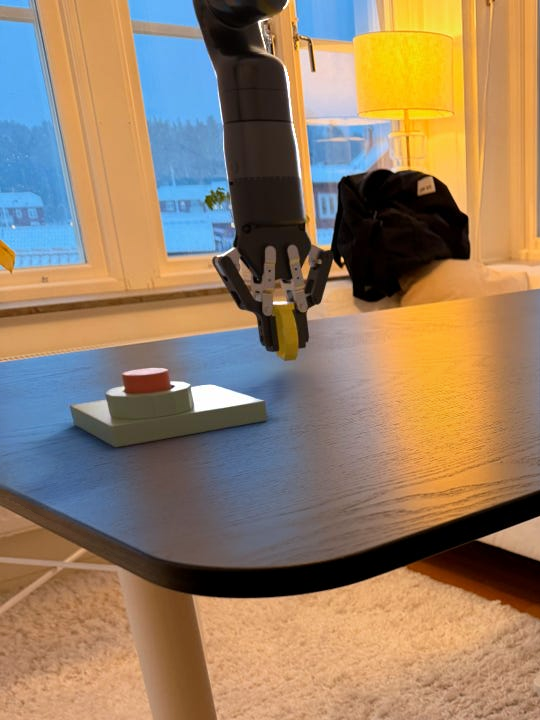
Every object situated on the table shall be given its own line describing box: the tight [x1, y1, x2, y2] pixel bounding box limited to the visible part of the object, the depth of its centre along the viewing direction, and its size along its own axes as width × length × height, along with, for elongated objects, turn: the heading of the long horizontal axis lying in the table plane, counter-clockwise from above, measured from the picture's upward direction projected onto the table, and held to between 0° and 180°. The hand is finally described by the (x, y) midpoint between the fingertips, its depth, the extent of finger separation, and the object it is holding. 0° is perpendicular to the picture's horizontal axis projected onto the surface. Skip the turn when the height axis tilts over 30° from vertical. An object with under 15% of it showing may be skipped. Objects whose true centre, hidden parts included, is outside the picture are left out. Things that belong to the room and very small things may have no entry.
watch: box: [272, 301, 299, 362], centre depth 98 cm, size 6×3×6 cm, turn 27°
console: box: [69, 380, 268, 448], centre depth 76 cm, size 13×12×4 cm
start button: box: [121, 367, 172, 394], centre depth 72 cm, size 4×4×2 cm
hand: (285, 348), depth 98 cm, fingers closed on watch, 2 cm apart
